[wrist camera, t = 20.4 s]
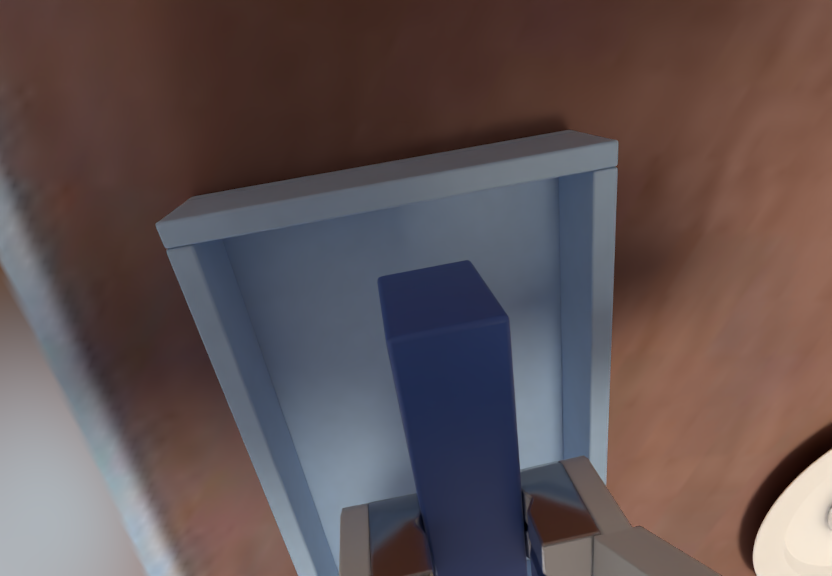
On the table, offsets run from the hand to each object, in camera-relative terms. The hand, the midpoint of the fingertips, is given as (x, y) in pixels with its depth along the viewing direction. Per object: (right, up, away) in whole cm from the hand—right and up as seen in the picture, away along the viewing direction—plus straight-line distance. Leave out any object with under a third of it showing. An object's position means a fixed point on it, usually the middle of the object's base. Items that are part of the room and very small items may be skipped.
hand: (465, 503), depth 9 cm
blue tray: (0, 0, +7) cm, 7 cm away
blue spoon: (0, -1, +2) cm, 3 cm away
